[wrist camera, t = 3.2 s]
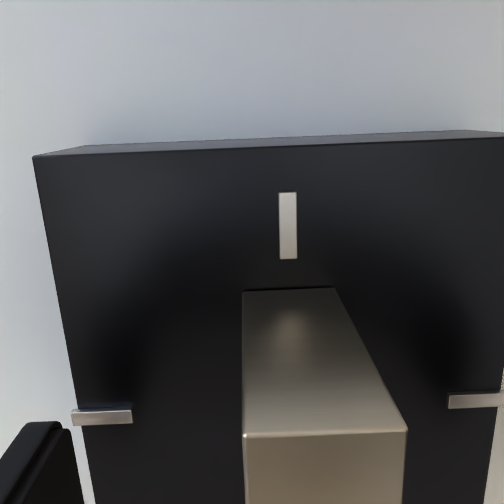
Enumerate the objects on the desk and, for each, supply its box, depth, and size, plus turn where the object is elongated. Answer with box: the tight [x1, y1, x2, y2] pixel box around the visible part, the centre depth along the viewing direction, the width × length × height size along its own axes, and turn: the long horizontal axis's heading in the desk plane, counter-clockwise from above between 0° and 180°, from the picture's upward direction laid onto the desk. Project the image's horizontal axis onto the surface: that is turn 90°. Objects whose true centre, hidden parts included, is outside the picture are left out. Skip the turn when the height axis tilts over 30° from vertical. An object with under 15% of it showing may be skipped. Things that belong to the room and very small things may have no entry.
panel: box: [32, 130, 504, 504], centre depth 12 cm, size 12×10×3 cm
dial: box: [242, 288, 408, 504], centre depth 8 cm, size 6×2×5 cm, turn 2°
